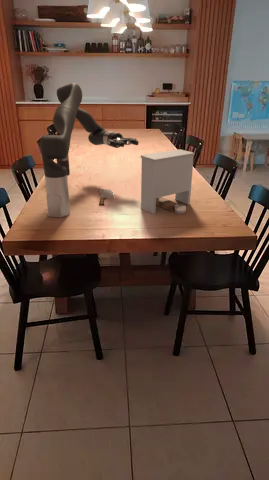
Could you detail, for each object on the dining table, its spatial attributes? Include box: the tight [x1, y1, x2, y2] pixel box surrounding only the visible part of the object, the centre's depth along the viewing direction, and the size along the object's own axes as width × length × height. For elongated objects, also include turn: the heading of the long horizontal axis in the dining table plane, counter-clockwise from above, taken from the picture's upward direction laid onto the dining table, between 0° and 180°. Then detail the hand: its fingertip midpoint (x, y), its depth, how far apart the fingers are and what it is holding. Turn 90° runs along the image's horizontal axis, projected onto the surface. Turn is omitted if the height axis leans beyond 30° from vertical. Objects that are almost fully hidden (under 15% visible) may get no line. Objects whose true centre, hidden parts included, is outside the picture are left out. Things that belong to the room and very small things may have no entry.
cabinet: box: [140, 149, 196, 215], centre depth 162 cm, size 10×23×24 cm, turn 126°
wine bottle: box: [56, 131, 71, 176], centre depth 209 cm, size 7×7×30 cm
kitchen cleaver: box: [97, 188, 115, 206], centre depth 178 cm, size 24×1×10 cm
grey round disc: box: [173, 203, 187, 215], centre depth 160 cm, size 5×5×3 cm
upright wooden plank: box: [156, 196, 178, 213], centre depth 166 cm, size 18×4×14 cm, turn 36°
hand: (130, 143), depth 176 cm, fingers open, 8 cm apart
